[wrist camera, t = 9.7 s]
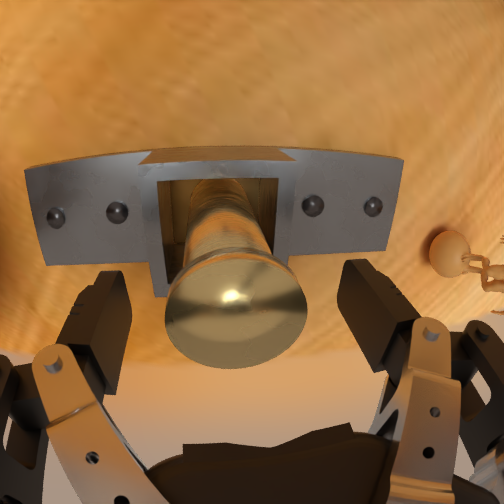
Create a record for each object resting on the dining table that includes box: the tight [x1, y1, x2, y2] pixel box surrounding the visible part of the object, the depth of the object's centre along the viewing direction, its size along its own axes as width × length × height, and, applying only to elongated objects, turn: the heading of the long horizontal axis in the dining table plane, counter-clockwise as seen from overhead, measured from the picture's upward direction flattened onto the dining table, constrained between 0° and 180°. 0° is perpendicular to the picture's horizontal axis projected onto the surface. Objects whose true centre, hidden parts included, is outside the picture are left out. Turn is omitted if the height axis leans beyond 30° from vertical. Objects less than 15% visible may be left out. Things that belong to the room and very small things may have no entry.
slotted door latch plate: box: [24, 146, 404, 297], centre depth 16 cm, size 25×7×5 cm, turn 88°
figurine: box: [429, 231, 504, 315], centre depth 17 cm, size 8×6×12 cm
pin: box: [165, 178, 307, 369], centre depth 13 cm, size 4×4×11 cm
